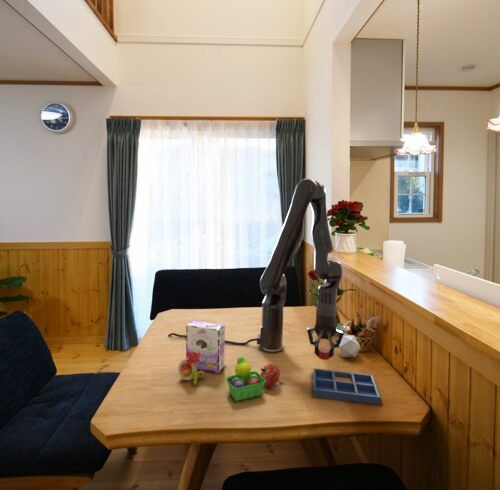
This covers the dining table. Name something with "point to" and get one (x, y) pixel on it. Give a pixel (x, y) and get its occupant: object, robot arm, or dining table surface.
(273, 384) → the pomegranate
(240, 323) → the dining table surface
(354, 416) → the dining table surface
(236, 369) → the fruit basket
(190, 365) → the bird rattle
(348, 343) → the die
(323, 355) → the short red cylinder
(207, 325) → the candy box
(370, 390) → the grid
